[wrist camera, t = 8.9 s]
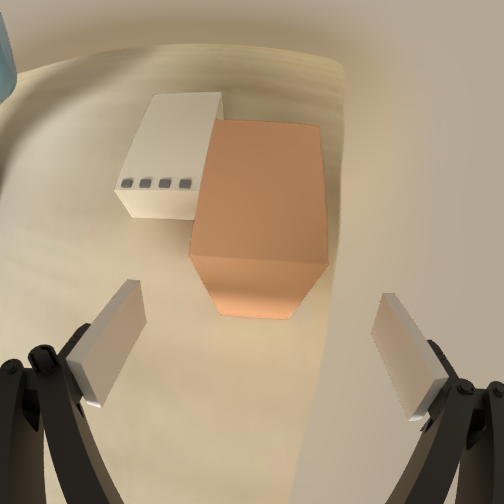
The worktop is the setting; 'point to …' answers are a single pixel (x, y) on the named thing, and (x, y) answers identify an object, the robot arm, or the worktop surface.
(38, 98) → the worktop surface
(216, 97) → the white button box
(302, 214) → the brown box
